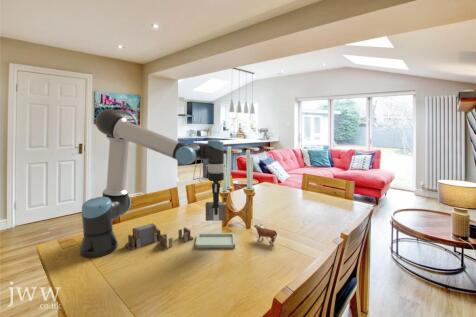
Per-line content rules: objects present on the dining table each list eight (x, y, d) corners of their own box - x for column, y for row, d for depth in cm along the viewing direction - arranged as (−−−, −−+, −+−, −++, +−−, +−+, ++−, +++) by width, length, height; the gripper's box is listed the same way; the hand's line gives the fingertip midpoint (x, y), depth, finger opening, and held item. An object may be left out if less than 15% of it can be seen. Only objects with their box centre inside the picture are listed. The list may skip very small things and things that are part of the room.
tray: (194, 248, 117) (194, 245, 117) (197, 236, 130) (197, 233, 130) (235, 248, 118) (235, 244, 118) (234, 236, 131) (234, 233, 131)
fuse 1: (136, 247, 118) (135, 231, 117) (133, 244, 121) (132, 228, 120) (156, 240, 125) (156, 225, 124) (153, 238, 128) (152, 223, 126)
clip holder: (163, 249, 116) (162, 239, 115) (157, 245, 120) (156, 235, 120) (193, 239, 127) (193, 230, 126) (186, 235, 131) (186, 226, 131)
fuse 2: (205, 220, 120) (205, 204, 119) (206, 217, 125) (206, 202, 123) (226, 220, 121) (226, 204, 120) (226, 217, 125) (226, 202, 124)
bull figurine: (255, 236, 132) (256, 221, 131) (278, 244, 123) (278, 228, 122) (250, 239, 128) (251, 223, 127) (273, 247, 120) (274, 231, 119)
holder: (130, 250, 115) (129, 240, 114) (125, 245, 119) (125, 235, 119) (163, 239, 126) (163, 230, 125) (157, 235, 131) (157, 226, 130)
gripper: (223, 175, 111) (223, 225, 114) (223, 168, 128) (224, 212, 131) (206, 175, 111) (207, 225, 114) (209, 169, 128) (209, 212, 131)
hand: (216, 218), depth 123 cm, fingers closed on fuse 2, 4 cm apart
